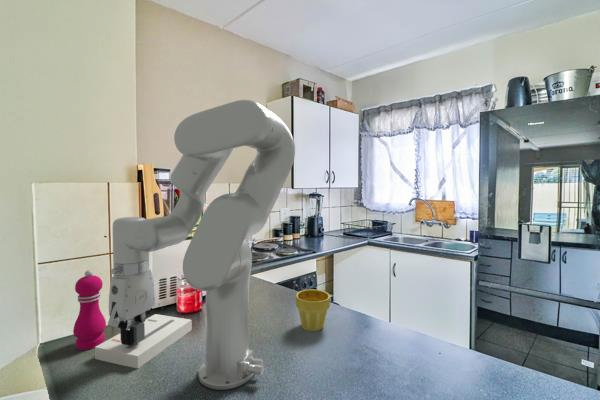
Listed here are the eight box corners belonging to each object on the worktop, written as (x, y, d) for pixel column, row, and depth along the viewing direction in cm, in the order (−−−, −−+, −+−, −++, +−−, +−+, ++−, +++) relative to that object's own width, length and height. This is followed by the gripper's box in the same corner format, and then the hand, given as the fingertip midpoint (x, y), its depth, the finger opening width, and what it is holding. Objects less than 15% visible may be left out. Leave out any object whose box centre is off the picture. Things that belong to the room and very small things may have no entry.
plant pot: (325, 337, 86) (325, 303, 86) (290, 331, 90) (291, 298, 89) (333, 321, 96) (333, 291, 96) (301, 317, 99) (302, 287, 99)
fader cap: (144, 342, 76) (144, 322, 76) (137, 347, 74) (136, 327, 73) (128, 339, 77) (128, 320, 77) (120, 344, 75) (120, 324, 75)
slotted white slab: (191, 329, 90) (191, 319, 90) (138, 368, 71) (137, 355, 71) (155, 323, 94) (155, 313, 93) (95, 359, 74) (94, 346, 74)
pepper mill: (90, 352, 77) (88, 275, 76) (66, 349, 79) (64, 273, 78) (112, 338, 84) (111, 267, 83) (90, 335, 86) (89, 265, 85)
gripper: (114, 278, 66) (116, 361, 67) (167, 261, 81) (168, 328, 82) (88, 275, 68) (90, 356, 69) (144, 259, 83) (145, 324, 84)
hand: (132, 340), depth 75 cm, fingers closed on fader cap, 2 cm apart
